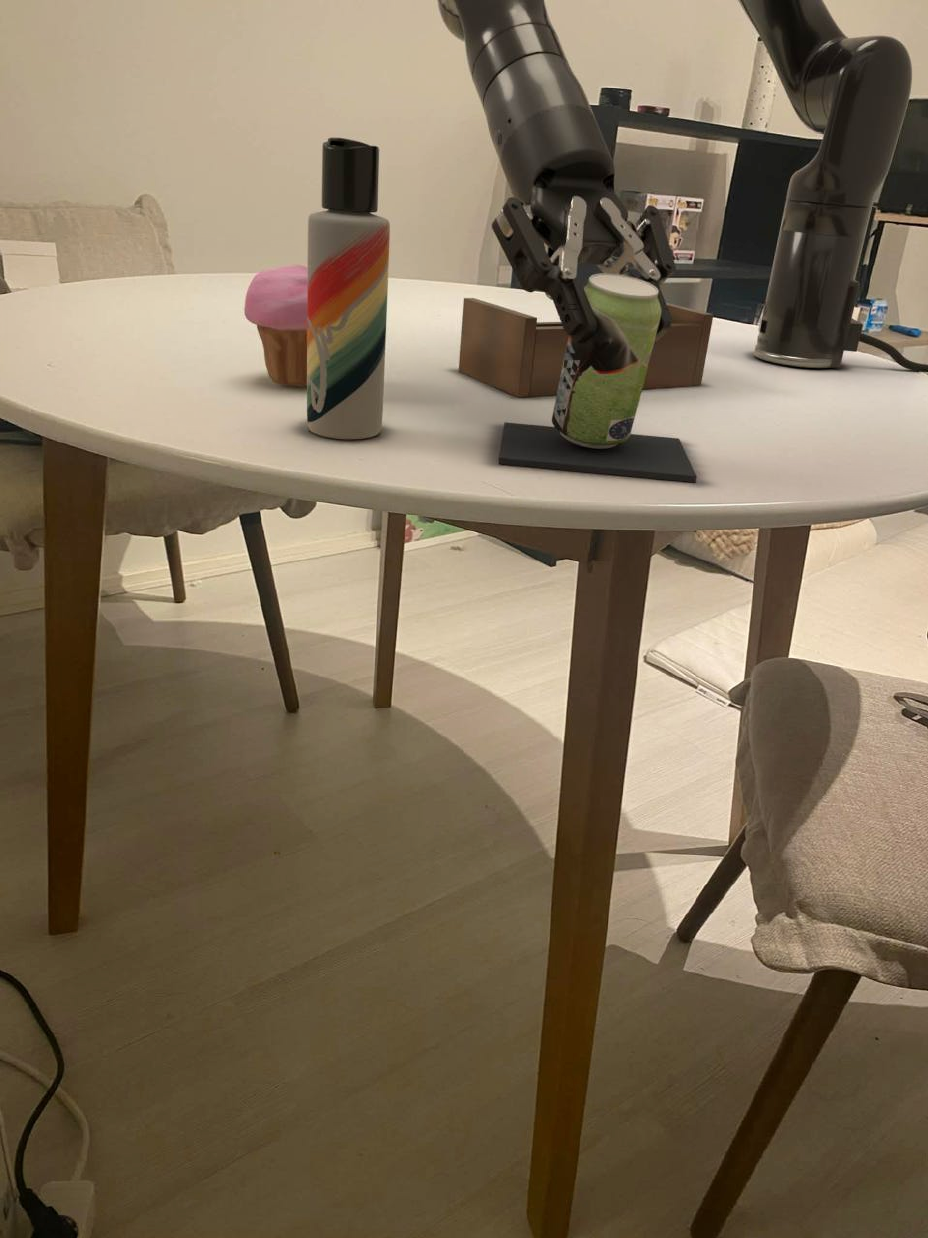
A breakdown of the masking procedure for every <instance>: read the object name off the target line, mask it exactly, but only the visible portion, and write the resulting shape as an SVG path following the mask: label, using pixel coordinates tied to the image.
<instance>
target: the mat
mask: <svg viewBox="0 0 928 1238" xmlns="http://www.w3.org/2000/svg"><path fill="white" fill-rule="evenodd" d="M498 464H499V465H506V466H517V467H527V468H528V467H529V468H539V469H548V470H559V471H569V472H581V473H589V474H590V473H592V474H603V475H612V476H622V477H633V478H644V479H645V478H646V479H654V480H664V481H665V480H666V481H676V482H686V483H696V482H697V478H698V477H697V474H696V472H695V470H694V468H693V465H692V463H691V461H690V459H689V457H688V455H687V453H686V450H685V448H684V446H683V444H682V442H681V440H680V438H677V437H670V436H669V437H666V436H657V435H647V434H646V435H645V434H637V433H636V434H634V433H631V434H630V437H629V438H628V439H627V440H626V441H624V442H622V443H619V444H617V445H615V446H614V447H611V448H605V449H595V448H588V447H583V446H580V445H577V444H574V443H572V442H570V441H568V440H567V439H565V438H564V437H563V436H562V435H561V434H560V431H558V430H557V429H556V428H555V427H554V426H548V425H538V424H528V423H519V422H518V423H516V422H505V421H504V423H503V429H502V436H501V442H500V449H499V455H498Z"/></svg>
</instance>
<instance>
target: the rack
mask: <svg viewBox="0 0 928 1238" xmlns="http://www.w3.org/2000/svg"><path fill="white" fill-rule="evenodd" d="M462 303H463V305H462V318H461V331H460V333H461V334H460V345H459V358H458V360H459V361H458V372H459V373H462V374H464V375H466V376H468V377H471V378H472V379H475V380H478V381H479V382H482V383H485V384H487V385H489V386H491V387H494V388H495V389H498V390H501V391H502V392H506V393H508V394H510V395H512V396H515V397H517V398H532V397H544V396H545V397H547V396H557V391H558V386H559V381H560V377H561V372H562V367H563V362H564V357H565V352H566V347H567V343H568V338H569V335H568V334H567V333H566V331H565V330H564V328H563V326H562V323H561V321H540V322H539V321H538V318H537V317H536V316H533V315H530V314H527V313H523V312H519V311H517V310H514V309H510V308H507V307H504V306H500V305H497V304H494V303H491V302H487V301H485V300H481V299H478V298H475V297H463V302H462ZM666 305H667V306H668V310H669V311H670V314H671V318H672V322H671V326H670V329H669V330H668V331H667V332H666V333H665V334H664V335H663V336H662V337H661V338H660V339H659V340H658V341H654V345H653V349H652V353H651V357H650V360H649V364H648V368H647V372H646V376H645V380H644V384H643V388H642V390H650V389H651V390H652V389H664V388H679V387H680V388H681V387H694V386H697V387H698V386H702V383H703V382H702V381H703V375H704V370H705V364H706V359H707V355H708V354H707V353H708V348H709V342H710V338H711V331H712V326H713V320H714V313H710V312H705V311H701V310H697V309H693V308H690V307H685V306H681V305H677V304H673V303H669V302H666Z"/></svg>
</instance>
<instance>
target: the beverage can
mask: <svg viewBox="0 0 928 1238" xmlns="http://www.w3.org/2000/svg"><path fill="white" fill-rule="evenodd" d="M583 288H584V290H585V293H586V295H587V298H588V301H589V303H590V306H591V308H592V311H593V313H594V316H595V318H596V321H597V329H596V331H595V332H594V333H593V334H592V335H591V337H590V338H589V339H588V340H587V341H586V342H585V343H574V342H573V341H572V339H571V336H570V335H569V338H568V343H567V347H566V352H565V357H564V362H563V367H562V372H561V377H560V381H559V386H558V391H557V395H555V396H556V398H555V402H554V406H553V411H552V415H551V423H552V425H553V427H555V428H556V429H557V430H558V431H560V434H561V435H562V436H563V437H564V438H565V439H567V440H568V441H570V442H572V443H574V444H577V445H580V446H583V447H588V448H595V449H605V448H611V447H614V446H615V445H617V444H619V443H622V442H624V441H626V440H627V439H628V438H629V437H630V434H632V430H633V426H634V422H635V419H636V415H637V410H638V407H639V403H640V399H641V396H642V395H641V394H642V391H643V389H642V388H643V384H644V380H645V376H646V372H647V368H648V364H649V360H650V357H651V353H652V349H653V345H654V341H655V337H656V333H657V329H658V325H659V321H660V318H661V306H660V303H659V300H658V298H657V295H658V292H659V291H658V289H657V288H656V287H655V286H654V285H652V284H650V283H648V282H645V281H643V280H640V279H637V277H635V278H633V277H629V276H624V275H618V274H604V273H595V274H592V275H590V276H589V278H588V282H587V284H585V286H583Z"/></svg>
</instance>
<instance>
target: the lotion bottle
mask: <svg viewBox="0 0 928 1238" xmlns="http://www.w3.org/2000/svg"><path fill="white" fill-rule="evenodd" d="M321 162H322V163H321V208H322V209H324V210H321V211H316V212H313V213H310V214H309V215H308V220H307V268H308V283H307V386H306V423H307V428H308V430H309V431H310V432H311V433H313V434H315V435H317V436H320V437H324V438H329V439H337V440H362V439H368V438H372V437H375V436H377V435H379V434H380V433H381V431H382V427H383V426H382V425H383V416H384V415H383V414H384V412H383V411H384V395H385V394H384V392H385V390H384V389H385V365H386V343H387V341H386V339H387V319H388V317H387V315H388V292H389V291H388V290H389V269H390V268H389V265H390V238H391V237H390V235H391V234H390V233H391V224H390V221H389V219H387V218H385V217H382V216H380V215H377V214H374V213H378V207H379V173H380V171H379V170H380V167H379V166H380V147H378V146H377V145H370V144H368V143H365V142H362V141H358V140H354V139H351V138H344V137H329V138H327V141H324V142H323V143H322V152H321Z"/></svg>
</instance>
